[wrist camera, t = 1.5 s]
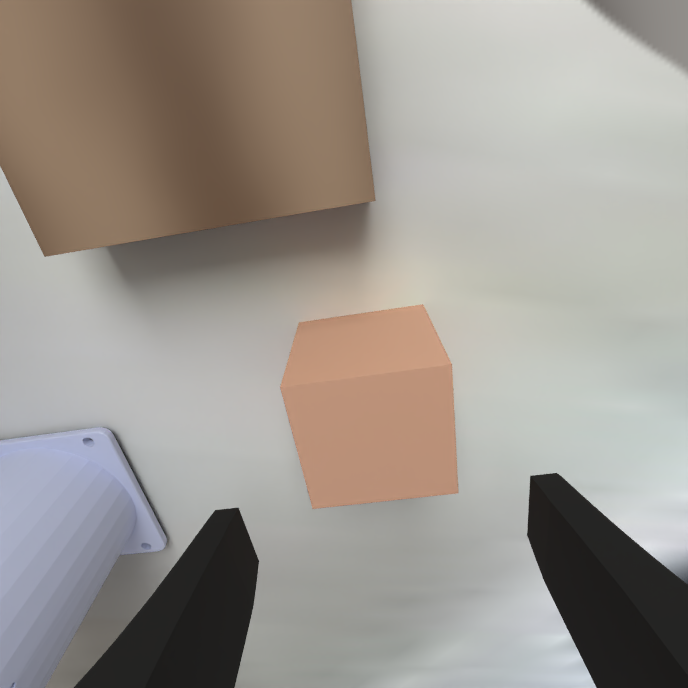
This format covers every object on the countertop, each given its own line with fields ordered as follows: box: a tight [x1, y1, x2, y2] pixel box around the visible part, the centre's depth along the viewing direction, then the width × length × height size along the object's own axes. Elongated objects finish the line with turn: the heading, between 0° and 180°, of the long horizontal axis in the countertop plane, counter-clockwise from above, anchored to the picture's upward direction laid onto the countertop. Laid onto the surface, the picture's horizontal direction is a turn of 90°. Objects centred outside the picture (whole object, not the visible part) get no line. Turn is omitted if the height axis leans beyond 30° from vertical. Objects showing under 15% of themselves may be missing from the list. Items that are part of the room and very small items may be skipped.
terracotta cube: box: [280, 305, 458, 509], centre depth 15 cm, size 5×5×5 cm
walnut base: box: [0, 0, 375, 257], centre depth 11 cm, size 10×10×3 cm
